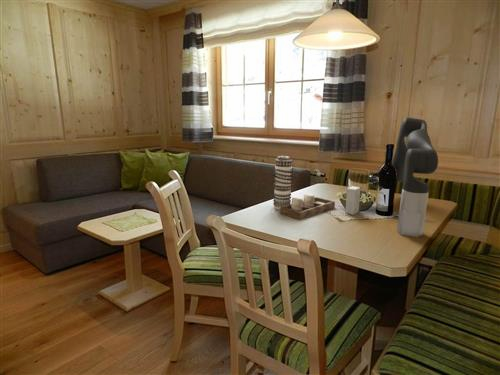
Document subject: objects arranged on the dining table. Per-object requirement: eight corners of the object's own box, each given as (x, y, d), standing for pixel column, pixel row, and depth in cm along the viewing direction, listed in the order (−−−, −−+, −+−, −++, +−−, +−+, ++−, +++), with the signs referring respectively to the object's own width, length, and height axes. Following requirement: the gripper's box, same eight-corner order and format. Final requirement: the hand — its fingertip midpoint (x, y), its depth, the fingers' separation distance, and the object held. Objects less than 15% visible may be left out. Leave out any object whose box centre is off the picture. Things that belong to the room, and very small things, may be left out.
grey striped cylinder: (294, 208, 160) (297, 157, 155) (277, 210, 157) (279, 158, 151) (286, 203, 169) (288, 154, 163) (269, 205, 165) (271, 155, 160)
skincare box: (350, 210, 160) (352, 185, 157) (358, 211, 157) (361, 187, 155) (344, 213, 155) (346, 188, 153) (353, 214, 153) (355, 189, 150)
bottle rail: (315, 202, 172) (316, 189, 170) (334, 207, 164) (335, 193, 162) (280, 213, 153) (280, 198, 151) (299, 219, 145) (300, 203, 143)
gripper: (368, 168, 176) (353, 172, 165) (395, 173, 166) (380, 177, 155) (367, 182, 178) (351, 187, 167) (393, 187, 168) (378, 193, 157)
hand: (365, 182), depth 161 cm, fingers open, 8 cm apart
